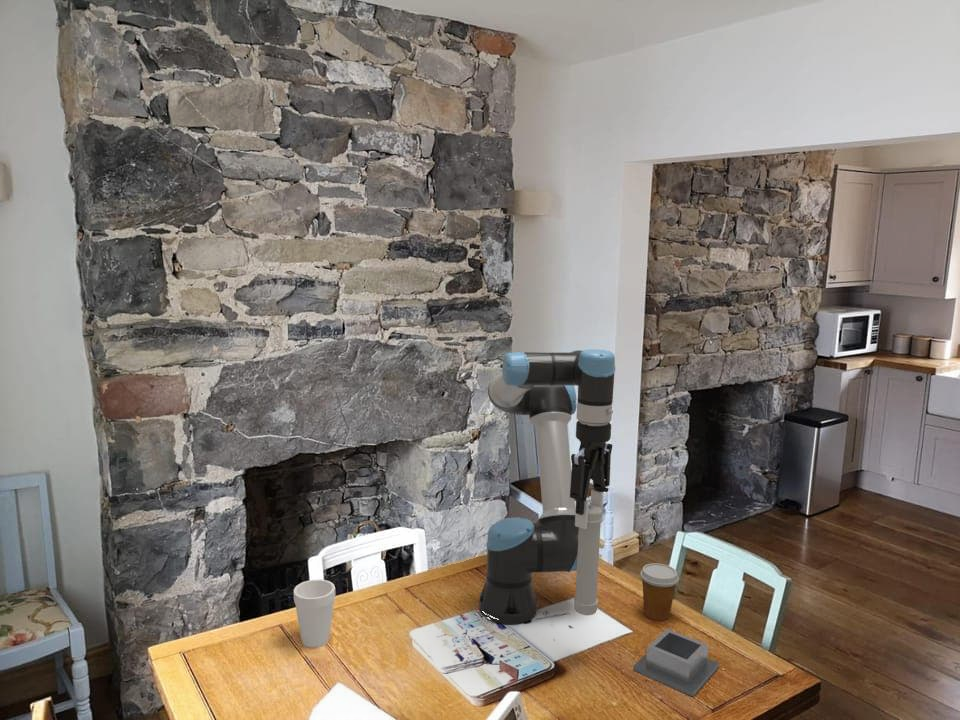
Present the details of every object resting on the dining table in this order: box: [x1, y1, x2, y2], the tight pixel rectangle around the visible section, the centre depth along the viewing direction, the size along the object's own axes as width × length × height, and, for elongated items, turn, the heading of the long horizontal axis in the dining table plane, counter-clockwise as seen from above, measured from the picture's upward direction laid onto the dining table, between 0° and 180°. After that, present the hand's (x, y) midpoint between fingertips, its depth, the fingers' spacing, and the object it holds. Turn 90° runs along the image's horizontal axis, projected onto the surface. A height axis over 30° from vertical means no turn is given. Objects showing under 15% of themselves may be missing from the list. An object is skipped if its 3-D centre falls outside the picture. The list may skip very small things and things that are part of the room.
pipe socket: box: [632, 628, 720, 698], centre depth 158 cm, size 14×14×6 cm
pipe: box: [573, 494, 604, 616], centre depth 157 cm, size 6×6×30 cm
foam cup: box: [293, 579, 336, 649], centre depth 165 cm, size 10×9×13 cm
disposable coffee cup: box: [640, 562, 680, 621], centre depth 181 cm, size 10×10×12 cm
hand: (588, 522), depth 156 cm, fingers closed on pipe, 5 cm apart
